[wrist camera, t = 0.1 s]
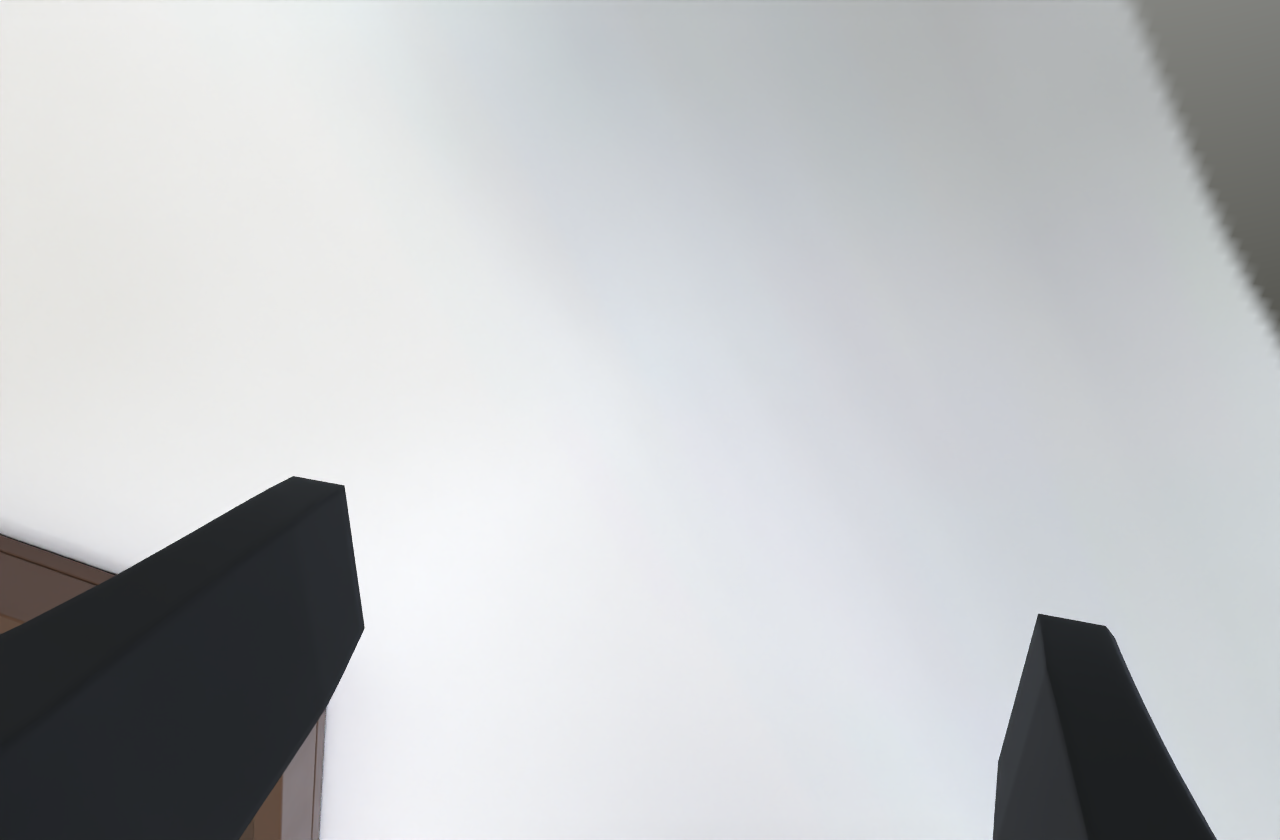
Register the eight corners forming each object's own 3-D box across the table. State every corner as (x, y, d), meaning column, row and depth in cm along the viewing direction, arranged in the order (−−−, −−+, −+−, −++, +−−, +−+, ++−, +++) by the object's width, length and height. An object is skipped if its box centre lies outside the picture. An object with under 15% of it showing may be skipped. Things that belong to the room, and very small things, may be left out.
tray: (310, 1013, 40) (275, 1080, 38) (-102, 853, 41) (-155, 910, 39) (330, 649, 29) (283, 716, 28) (-216, 458, 31) (-295, 509, 29)
